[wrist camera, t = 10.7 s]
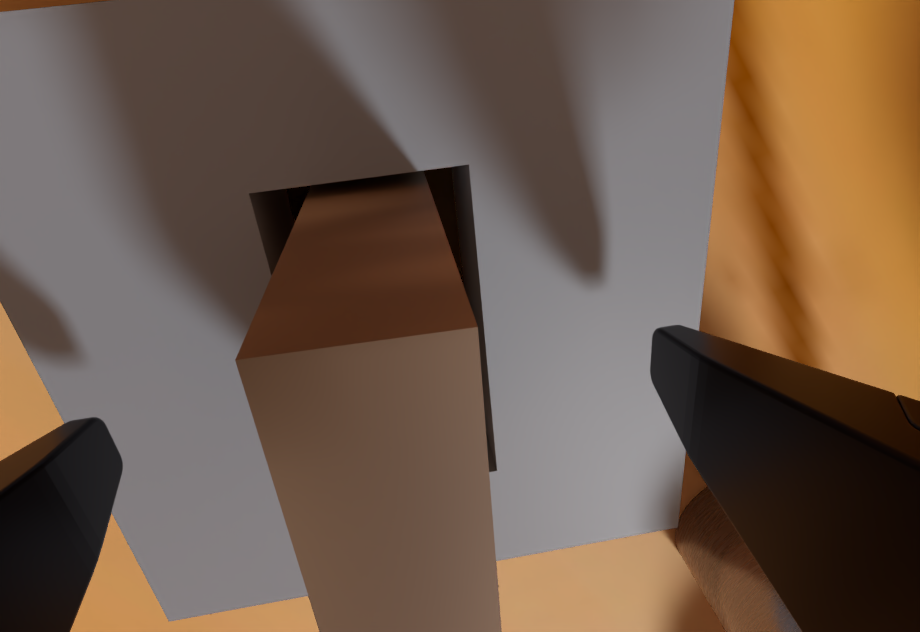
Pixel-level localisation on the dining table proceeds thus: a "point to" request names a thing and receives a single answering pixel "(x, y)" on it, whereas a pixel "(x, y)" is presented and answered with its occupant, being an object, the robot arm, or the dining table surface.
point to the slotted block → (341, 159)
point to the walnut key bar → (376, 413)
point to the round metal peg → (728, 570)
